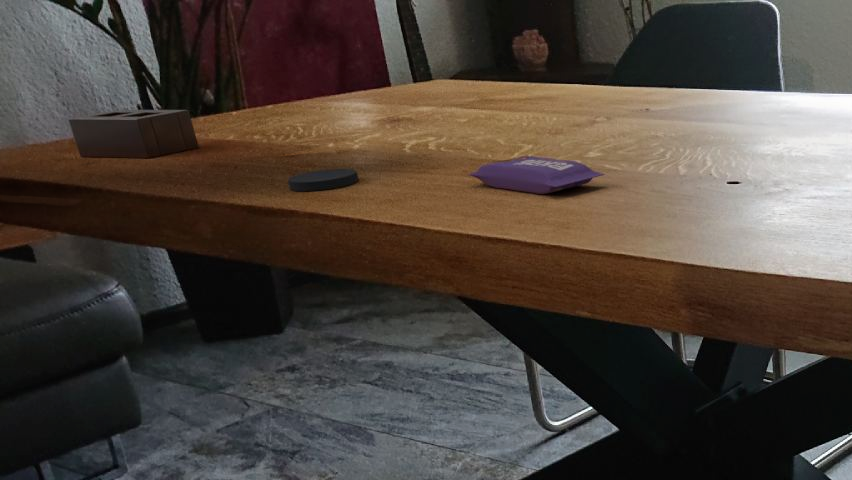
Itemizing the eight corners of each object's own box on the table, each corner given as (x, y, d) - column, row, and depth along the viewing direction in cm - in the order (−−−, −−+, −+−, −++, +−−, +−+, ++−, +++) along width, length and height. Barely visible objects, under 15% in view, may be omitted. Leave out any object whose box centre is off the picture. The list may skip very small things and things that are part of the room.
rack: (148, 158, 114) (137, 119, 113) (80, 156, 119) (67, 118, 117) (199, 147, 119) (188, 109, 118) (131, 146, 124) (120, 109, 122)
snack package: (604, 161, 85) (554, 174, 82) (608, 186, 86) (558, 200, 83) (513, 151, 92) (463, 162, 89) (517, 174, 93) (468, 186, 90)
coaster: (287, 194, 91) (285, 184, 91) (292, 182, 96) (290, 173, 96) (358, 186, 93) (356, 176, 92) (359, 175, 98) (357, 166, 97)
